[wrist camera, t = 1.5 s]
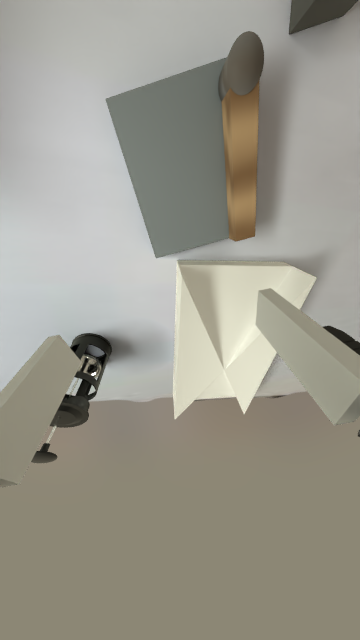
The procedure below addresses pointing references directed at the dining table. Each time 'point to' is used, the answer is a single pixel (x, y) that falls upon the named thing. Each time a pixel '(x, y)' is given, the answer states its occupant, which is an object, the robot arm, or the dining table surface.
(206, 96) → the stool seat
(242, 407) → the building model
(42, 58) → the dining table surface
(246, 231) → the hinged leg
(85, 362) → the french press
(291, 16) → the block
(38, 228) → the dining table surface
